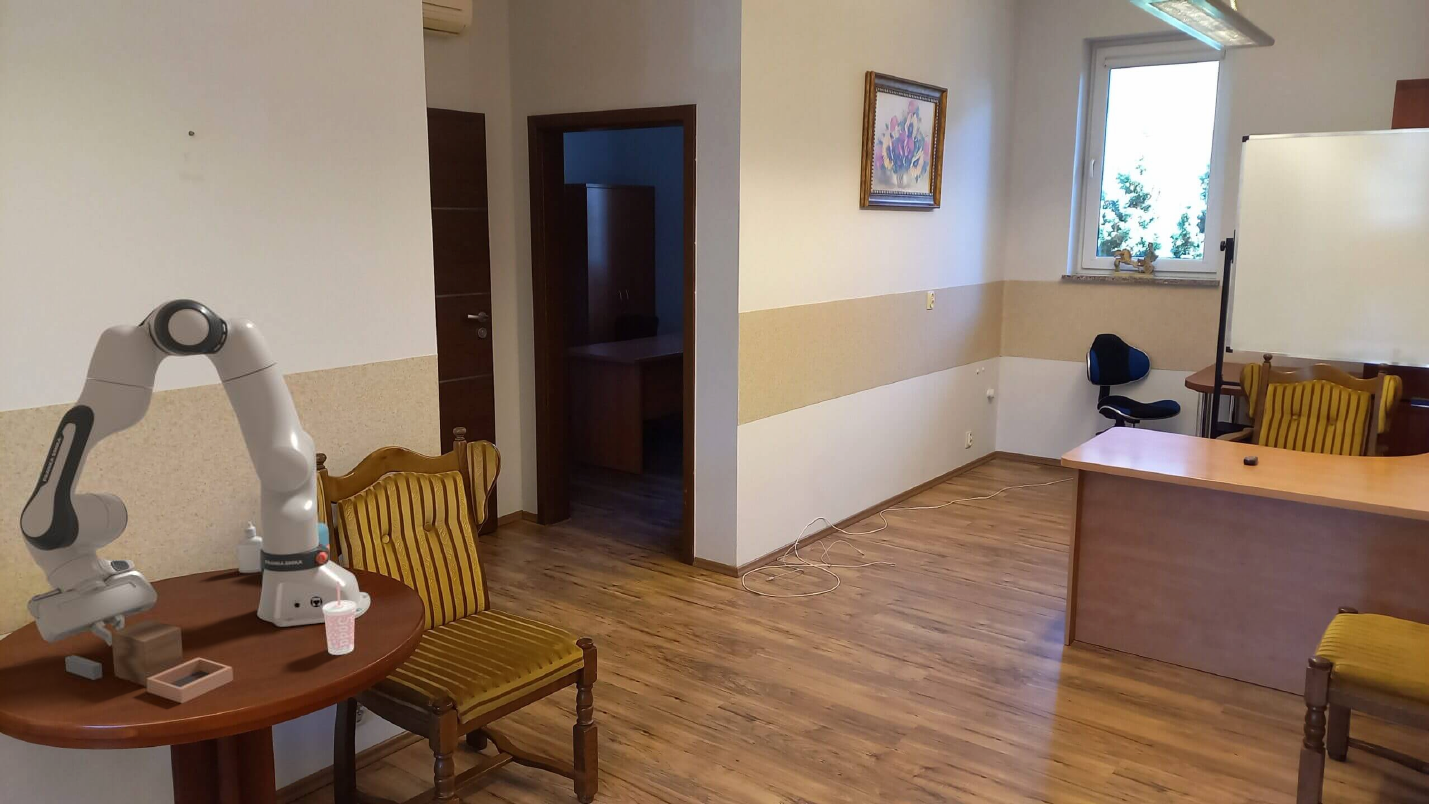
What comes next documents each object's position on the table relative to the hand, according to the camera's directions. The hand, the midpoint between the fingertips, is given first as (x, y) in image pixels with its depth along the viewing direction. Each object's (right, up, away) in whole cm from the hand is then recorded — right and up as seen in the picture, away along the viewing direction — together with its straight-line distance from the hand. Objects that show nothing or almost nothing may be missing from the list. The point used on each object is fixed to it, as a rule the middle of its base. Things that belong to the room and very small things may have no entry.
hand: (118, 641), depth 179 cm
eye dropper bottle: (0, +4, +52) cm, 52 cm away
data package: (+12, +3, +52) cm, 54 cm away
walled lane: (-2, -4, +2) cm, 5 cm away
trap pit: (+17, -6, -7) cm, 20 cm away
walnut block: (+7, -5, -3) cm, 9 cm away
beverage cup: (+38, -4, +9) cm, 39 cm away
